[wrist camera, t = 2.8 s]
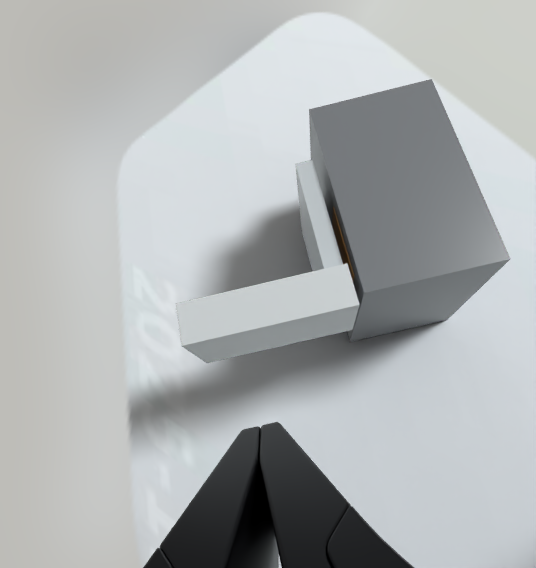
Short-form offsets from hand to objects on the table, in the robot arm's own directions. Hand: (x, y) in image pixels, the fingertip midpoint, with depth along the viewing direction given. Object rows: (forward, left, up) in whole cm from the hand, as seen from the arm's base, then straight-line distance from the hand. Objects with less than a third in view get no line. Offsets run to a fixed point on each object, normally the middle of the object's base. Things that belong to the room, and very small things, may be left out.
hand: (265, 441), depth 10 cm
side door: (+7, 0, -11) cm, 13 cm away
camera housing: (+8, -6, -12) cm, 16 cm away
